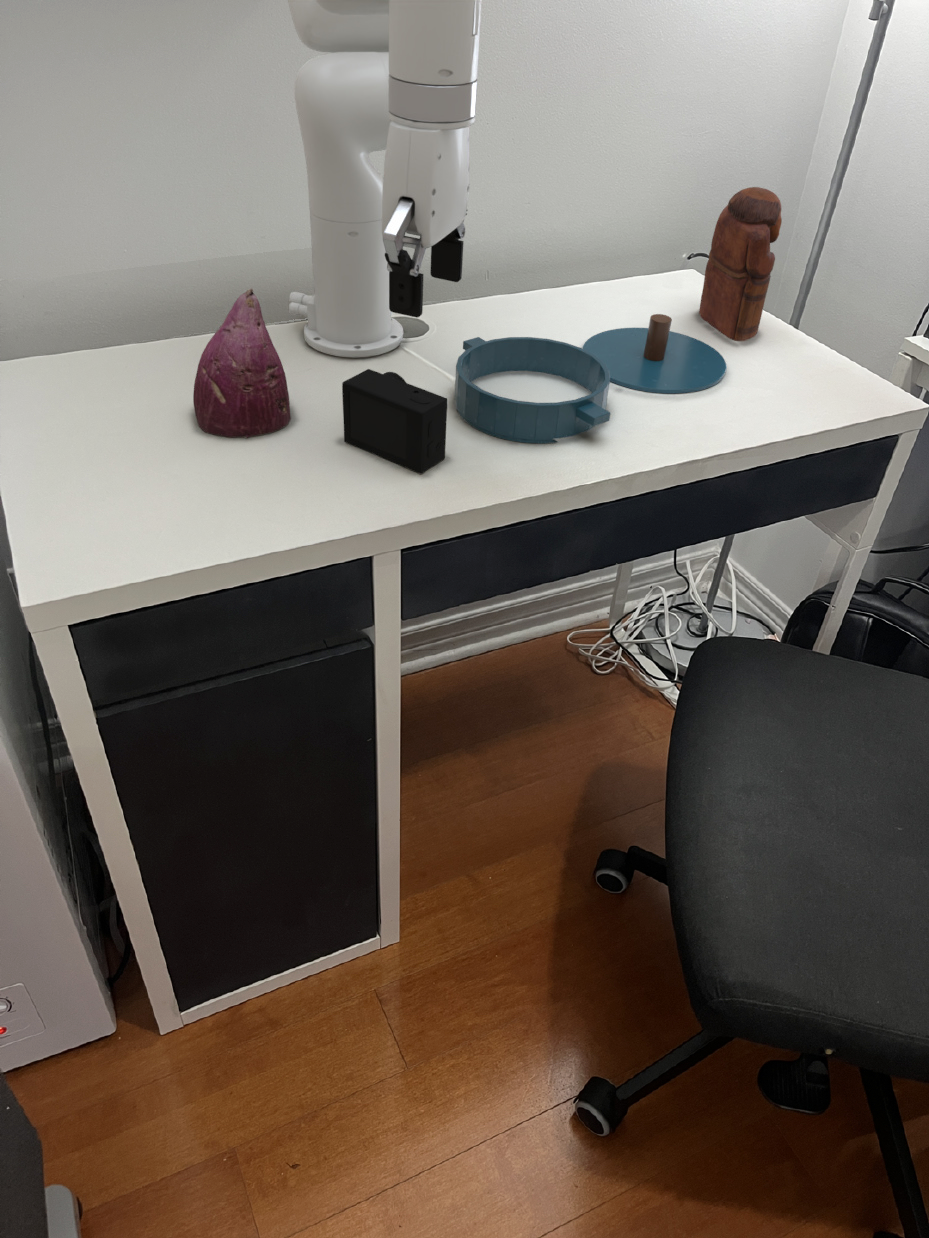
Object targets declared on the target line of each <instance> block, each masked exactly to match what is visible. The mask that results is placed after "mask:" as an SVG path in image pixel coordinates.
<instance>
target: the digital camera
mask: <svg viewBox="0 0 929 1238" xmlns="http://www.w3.org/2000/svg"><path fill="white" fill-rule="evenodd" d="M341 384H342V385H341V389H342V390H341V391H342V392H341V394H342V415H343V416H342V417H343V441H344V443H346V444H349V445H350V446H353V447H356V448H358V449H361V450H363V451H366V452H368V453H370V454H372V455H374V456H377V457H380V458H382V459H384V460H387V461H389V462H391V463H394V464H396V465H399V466H401V467H403V468H405V469H408V470H410V471H412V472H415V473H418V474H420V475H423V474H424V473H425V472H426V471H429V470H430V469H431V468H433V467H435V465H437V464H439V463H440V462H441V461H443V460H445V458H446V444H447V443H446V440H447V421H448V419H447V418H448V398H447V397H445V396H442V395H440V394H437V393H435V392H431V391H429V390H426V389H423V388H420V387H418V386H416V385H413V384H410V383H408V382H406V380H405V379H404V378H403V377H402V376H401V375H400V374H398V373H397V372H394V371H386V372H384V373H381V372H378V371H376V370H373V369H371V368H367V369H366V370H364V371H363V370H362V372H359V373H357V374H355V375H354V376H352V377H350V378H348V379H346V380H344V381H343V382H342V383H341Z"/></svg>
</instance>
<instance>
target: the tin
mask: <svg viewBox="0 0 929 1238" xmlns="http://www.w3.org/2000/svg"><path fill="white" fill-rule="evenodd" d="M582 348H583V347H579V346H576V345H574V344H571V343H568V342H565V341H564V342H563V341H559V340H555V339H550V338H542V337H531V336H509V337H501V338H494V339H493V338H492V339H489V340H485V339H483V338H481V337H479V336H477V337H474V338H469V339H466V340H463V342H462V350H464V351H463V352H462V353H461V354H460V355H459V356H458V358H457V361H456V366H455V379H454V380H455V381H454V399H453V400H454V407H455V410H456V412H457V414H458V415H459V417H460V418H461V419H462V420H463V421H464V422H465V423H467V425H469V426H471V427H472V428H474V429H475V430H478V431H480V432H482V433H484V434H486V435H489V436H492V437H494V438H498V439H501V440H504V441H505V440H506V441H511V442H516V443H523V444H556V443H558V441H557V440H558V439H563V438H568V437H574V436H577V435H579V434H583V433H585V432H588V431H590V430H591V429H593V428H595V427H596V426H599V425H602V424H604V423H607V422H609V421H610V417H611V412H610V411H609V410H607V402H608V395H609V390H610V384H611V382H610V372H609V370H608V368H607V366H606V365H605V363H604V362H602V361H601V360H600V359H599V358H598V357H597V356H595V355H594V354H592V353H590V352H588V351H586V350H584V349H582ZM505 372H532V373H533V372H534V373H542V374H543V373H544V374H548V375H553V376H557V377H562V378H564V379H565V380H569V381H571V382H575V383H576V384H578V385H580V386H581V387H584V388H585V389H586V390H588V392H590V394H587V395H584V396H582V397H579V398H576V399H570V400H569V399H568V400H563V401H557V402H534V401H524V400H517V399H513V398H508V397H503V396H499V395H497V394H495V393H492V392H489V391H487V390H484V389H482V388H481V387H479V386H478V385H476V384H474V383H473V382H474V381H475V380H478V379H479V378H483V377H485V376H489V375H492V374H498V373H505Z"/></svg>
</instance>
